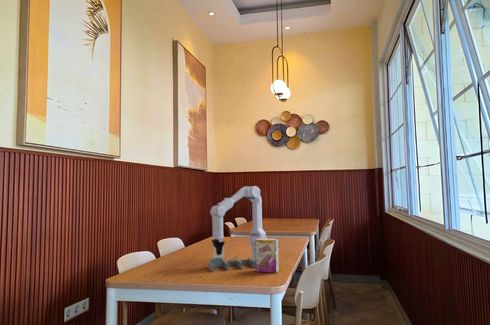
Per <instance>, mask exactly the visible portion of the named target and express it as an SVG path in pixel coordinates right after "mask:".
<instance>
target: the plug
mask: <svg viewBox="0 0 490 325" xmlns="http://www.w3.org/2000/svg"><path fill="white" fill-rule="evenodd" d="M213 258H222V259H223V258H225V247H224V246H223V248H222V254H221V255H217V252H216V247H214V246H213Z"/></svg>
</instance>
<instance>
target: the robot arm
mask: <svg viewBox="0 0 490 325" xmlns="http://www.w3.org/2000/svg"><path fill="white" fill-rule="evenodd" d="M242 198H246V199H247V200H249V201H250V202H251V203H252V204H251V207H252V211H251V212H252V213H251V214H252V229H251V231H250V233H249V237H248V241H249V244H250V246H251V259H253V260H254V261H255V239H258V238H262V239H268V238H267V234H266V231H265V230H264V229H263V209H262V202H263V200H262V196H261V189H260V188H259V187H258V186H257V185H253V186H247V185H246V186H243V187H241V188H240V189H239V190H237V192H235V194H233V195H232V196H231V197H224V198H223V200H222V201H221V202H217V205H213V206H212V207H211V209H210V211H209V214H210V215H211V219H212V220H211V221H212V224H211V225H212V236H210V237H209V238H210V239H211V242H212V246H213V248H214V247H216V252H217V255H221V254H222V248H223V247H224V245H225V242H226V241H224V216H225V214H226V212H227V211H228V210H230V209H232V208H233V207H234V204H235V203H236V202H238V201H239V200H241V199H242Z"/></svg>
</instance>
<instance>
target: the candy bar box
mask: <svg viewBox="0 0 490 325" xmlns="http://www.w3.org/2000/svg"><path fill="white" fill-rule="evenodd" d="M255 265H256V268H255V272H257V273H270V274H277V273H278V272H279V266H280V265H279V239H277V238H267V239H262V238H258V239H255Z"/></svg>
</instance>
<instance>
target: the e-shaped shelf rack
mask: <svg viewBox="0 0 490 325" xmlns="http://www.w3.org/2000/svg"><path fill="white" fill-rule="evenodd" d="M243 265H245V266H246V265H249V266H250V267H251V268H253V269H256V265H255V261H254V260H253V259H252V257H248V258H245V259H238V258H235V259H233V260H225V259H223V257H222V258H215V257H210V259H209V260H208V262H207V268H208V269H209V270H210V271H211V272H212V273H214V272H215V268H223V269H224V270H225V271H226V272H228V271H230V270H229V269H230V268H229V267H231V266H236V267H237V268H238V269H239V270H243Z"/></svg>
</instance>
